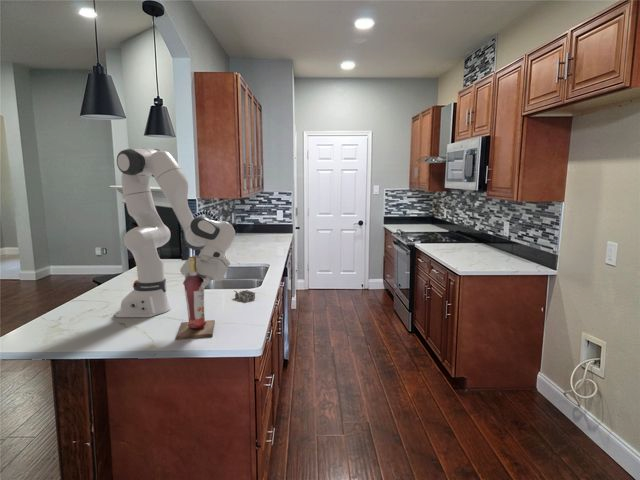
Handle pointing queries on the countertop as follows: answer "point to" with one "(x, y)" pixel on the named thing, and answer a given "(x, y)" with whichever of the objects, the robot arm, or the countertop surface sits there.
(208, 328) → the serving board
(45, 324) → the countertop surface
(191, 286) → the liquor
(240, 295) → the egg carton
